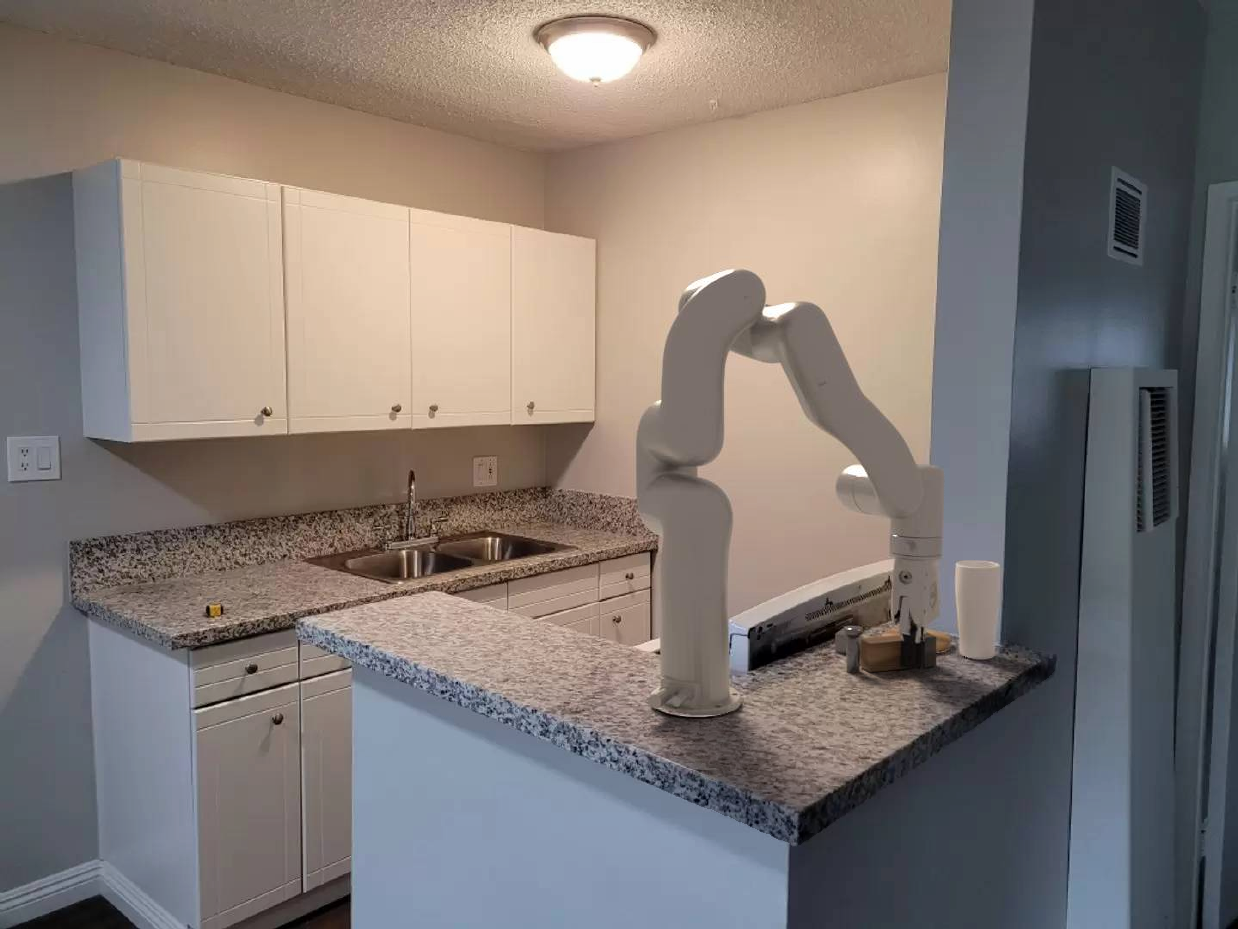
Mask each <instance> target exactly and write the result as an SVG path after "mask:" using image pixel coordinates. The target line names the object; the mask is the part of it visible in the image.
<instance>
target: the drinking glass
mask: <svg viewBox="0 0 1238 929" xmlns="http://www.w3.org/2000/svg"><path fill="white" fill-rule="evenodd" d="M954 568H955V572H954V590H955V591H954V592H955V602H956V604H955V605H956V616H957V626H958V627H957V628H958V641H959V642H958V646H959V647H958V650H959V654H960V655H961V656H963V657H964V656H965V657H964V658H966V657H967V659H970V658H971V660H979V661H980V660H983V661H984V660H990V659H993V658H994V657H995V655H996V641H997V640H996V639H997V638H996V637H997V628H998V618H999V607H1000V599H1001V598H1000V597H1001V586H1002V585H1001V581H1002V580H1001V577H1002V576H1001V565H1000V563H998V562H993V561H988V560H975V559H974V560H973V559H970V560H969V559H968V560H960V561H957V562H956V563H955V567H954Z"/></svg>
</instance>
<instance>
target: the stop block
mask: <svg viewBox="0 0 1238 929" xmlns="http://www.w3.org/2000/svg"><path fill="white" fill-rule="evenodd" d="M834 636H835V637H834V641H835V642H834V644H835V648H834V649H835V651H834V652H835V653H840V654H841V653H842V654H846V634H844V628H841V629H840V630H839V631H837V632H836V633H835V634H834Z"/></svg>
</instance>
